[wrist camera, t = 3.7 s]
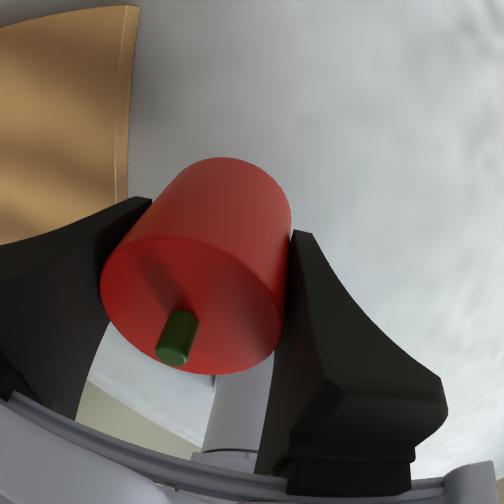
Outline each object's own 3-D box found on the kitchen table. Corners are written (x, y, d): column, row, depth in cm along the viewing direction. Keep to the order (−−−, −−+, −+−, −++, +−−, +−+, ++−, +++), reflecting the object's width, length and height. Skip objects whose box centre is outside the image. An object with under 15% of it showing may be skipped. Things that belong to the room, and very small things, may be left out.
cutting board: (132, 283, 22) (124, 297, 21) (1, 243, 22) (-9, 253, 21) (141, 6, 12) (127, 4, 11) (-21, 36, 12) (-36, 39, 11)
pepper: (275, 281, 13) (256, 424, 8) (163, 256, 13) (95, 379, 8) (305, 173, 11) (307, 307, 5) (168, 146, 11) (57, 246, 5)
